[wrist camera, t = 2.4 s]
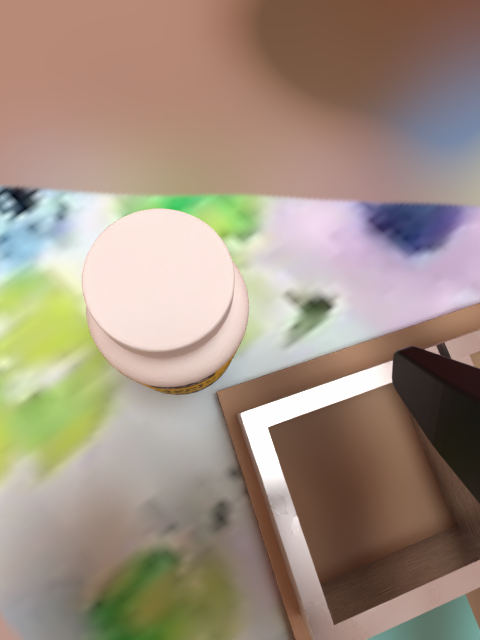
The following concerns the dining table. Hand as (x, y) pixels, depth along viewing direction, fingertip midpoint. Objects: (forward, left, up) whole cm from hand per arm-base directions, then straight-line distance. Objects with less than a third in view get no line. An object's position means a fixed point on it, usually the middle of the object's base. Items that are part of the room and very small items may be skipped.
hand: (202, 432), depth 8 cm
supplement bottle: (+3, +3, -11) cm, 12 cm away
